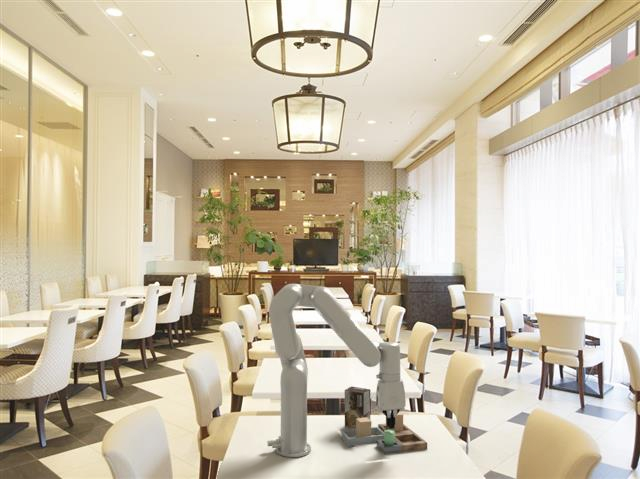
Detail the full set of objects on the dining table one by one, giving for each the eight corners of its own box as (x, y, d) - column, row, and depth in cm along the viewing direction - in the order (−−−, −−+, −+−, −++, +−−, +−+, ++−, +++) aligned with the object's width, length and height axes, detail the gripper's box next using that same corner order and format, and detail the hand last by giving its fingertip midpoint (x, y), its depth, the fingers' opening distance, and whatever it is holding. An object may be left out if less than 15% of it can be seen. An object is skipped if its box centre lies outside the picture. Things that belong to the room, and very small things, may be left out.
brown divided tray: (402, 453, 175) (402, 445, 175) (378, 431, 196) (378, 424, 196) (427, 451, 178) (427, 442, 178) (400, 429, 199) (400, 422, 199)
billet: (360, 443, 184) (360, 422, 184) (356, 439, 188) (356, 418, 188) (371, 442, 185) (371, 421, 185) (366, 438, 189) (367, 417, 190)
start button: (386, 448, 175) (386, 434, 175) (381, 444, 179) (382, 430, 179) (396, 447, 176) (396, 433, 176) (392, 442, 180) (392, 429, 180)
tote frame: (348, 447, 180) (348, 439, 180) (341, 438, 189) (341, 430, 189) (386, 443, 185) (386, 435, 185) (377, 434, 193) (377, 426, 193)
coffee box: (371, 429, 199) (371, 389, 199) (363, 433, 194) (364, 393, 194) (351, 424, 204) (351, 385, 204) (343, 429, 198) (344, 389, 199)
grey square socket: (384, 456, 173) (384, 447, 173) (376, 448, 180) (376, 440, 180) (402, 453, 175) (402, 445, 175) (394, 446, 181) (394, 438, 182)
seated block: (392, 436, 189) (392, 415, 189) (387, 432, 194) (387, 411, 194) (403, 435, 190) (403, 414, 191) (398, 431, 195) (398, 410, 195)
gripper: (374, 381, 172) (375, 433, 172) (413, 377, 176) (414, 428, 176) (367, 375, 179) (367, 426, 179) (404, 372, 183) (404, 421, 183)
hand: (390, 427), depth 177 cm, fingers closed
